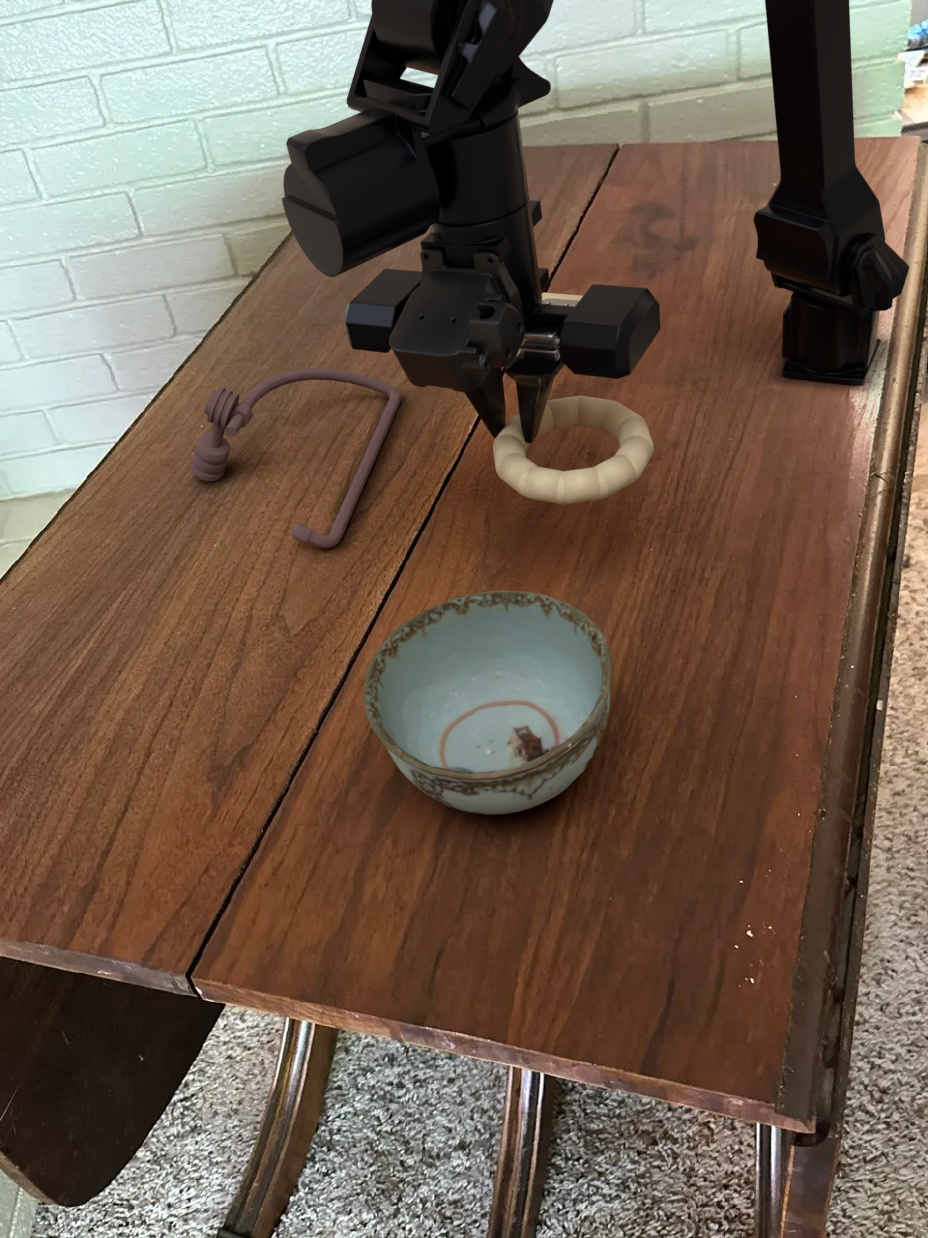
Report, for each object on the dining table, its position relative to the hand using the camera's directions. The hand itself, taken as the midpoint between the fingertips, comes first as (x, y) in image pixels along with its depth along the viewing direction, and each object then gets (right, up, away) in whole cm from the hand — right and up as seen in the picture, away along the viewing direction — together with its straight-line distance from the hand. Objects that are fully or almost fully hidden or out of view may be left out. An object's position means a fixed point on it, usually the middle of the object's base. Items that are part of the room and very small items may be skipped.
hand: (515, 437), depth 71 cm
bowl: (-1, -21, -8) cm, 22 cm away
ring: (+4, -1, -2) cm, 4 cm away
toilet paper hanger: (-18, 0, +19) cm, 26 cm away
